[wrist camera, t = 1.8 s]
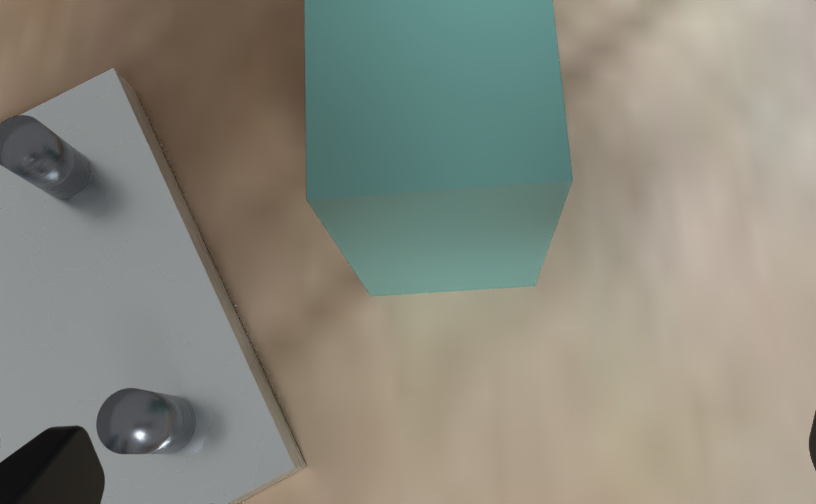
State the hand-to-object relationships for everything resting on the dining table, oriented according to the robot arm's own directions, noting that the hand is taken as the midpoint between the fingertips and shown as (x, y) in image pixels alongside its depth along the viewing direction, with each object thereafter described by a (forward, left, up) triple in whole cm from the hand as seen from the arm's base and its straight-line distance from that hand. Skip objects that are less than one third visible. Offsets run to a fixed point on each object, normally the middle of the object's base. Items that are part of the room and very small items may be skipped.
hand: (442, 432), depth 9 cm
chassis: (+12, +7, -13) cm, 19 cm away
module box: (+4, -5, -13) cm, 14 cm away
